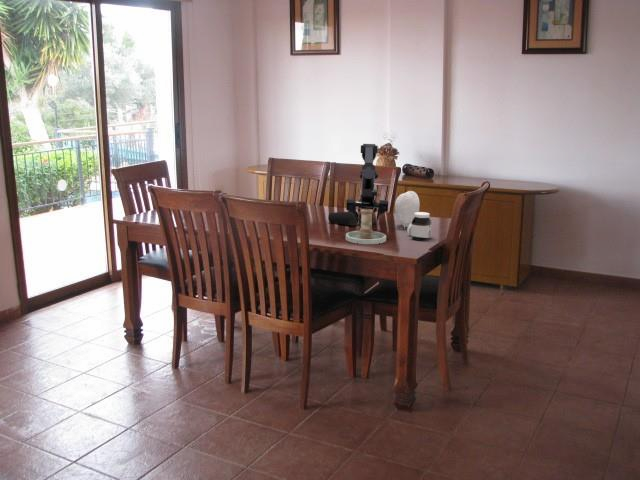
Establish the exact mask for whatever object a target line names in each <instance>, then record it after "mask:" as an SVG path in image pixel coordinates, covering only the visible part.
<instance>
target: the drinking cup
mask: <svg viewBox="0 0 640 480" xmlns="http://www.w3.org/2000/svg"><path fill="white" fill-rule="evenodd" d="M356 215H357V221H355V218H354V216H353V214H352V212H349V211H339V212H338V211H337V212H336V211H335V212H330V213H329V214H328V221H329V223H332V224H333V223H334V224H339V225H343V226H344V225H345V226H351V227H357V225H358V224H359V220H361V218H359V213H358V211H357V210H356Z"/></svg>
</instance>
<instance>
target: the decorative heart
mask: <svg viewBox="0 0 640 480" xmlns="http://www.w3.org/2000/svg"><path fill="white" fill-rule="evenodd" d="M420 205H421V204H420V198H419V195H418V194H417V193H416V191H413V190H407V191H406V192H404V193H401V194H399V195H398V196H397V198H396V199H395V203H394V214H395V217H396V219H397V221H398V222H399V223H400V225H402V226H403V230H405V229H406V228H408V226H409V225H410V224H411V223H412V220H413V218H414V213H416V212H420Z"/></svg>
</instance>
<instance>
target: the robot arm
mask: <svg viewBox="0 0 640 480" xmlns="http://www.w3.org/2000/svg"><path fill="white" fill-rule="evenodd" d="M378 147H379V146H378V145H376V144H375V143H363V144H361V145H360V154H361V157H362V160H363V162H364V163H363V165H362V166H361V170H360V171H359V179H361V192H360V193H361V194H360V197H359V199H358V201H356V199H355V198H347V199H346V201H345V202H346V204H345V205H346V207H345V208H346V209H345V210H346V211H348V212H352V214H353V216H354V218H355V221H357V215H356V211H357V208H358V211H357V213H358V212H359V213H358V216H359V218H361V213H360V210H361V209H364V208H369V209H372V210H373V214H372V226H373V225H374V213H376V212H377V213H376V220H375V221H376V223H378V221H379V219H380V217H381V216H382V215H383V214H385V213H386V212H388V211H389V201H388V200H387V199H379V202H377V199H375V197H378V188H375V183H376V182H375V181H376V180H377V178H379V173H378V171H377V170H376V166H375V165H374V161H375V160H376V158H377V154H379V153H378V152H379V151H378V149H379V148H378ZM358 224H359V225H361V220H359V221H358Z"/></svg>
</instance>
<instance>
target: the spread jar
mask: <svg viewBox="0 0 640 480" xmlns="http://www.w3.org/2000/svg"><path fill="white" fill-rule="evenodd" d="M413 213H414V212H413ZM408 225H409V224H408ZM406 228H407V229H406V232H407V234H408V235H410V236H411V238H412V240H413V239H414V240H415V239H419V240H418V241H425V240H424V239H428V238H429V239H430V237H431V235H432V220H431V218H430V213H429V212H425V211H419V212H416V213H414V218H413V220H412V223H411V224H410V225H409V226H408V227H406ZM429 239H428V240H429Z"/></svg>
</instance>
